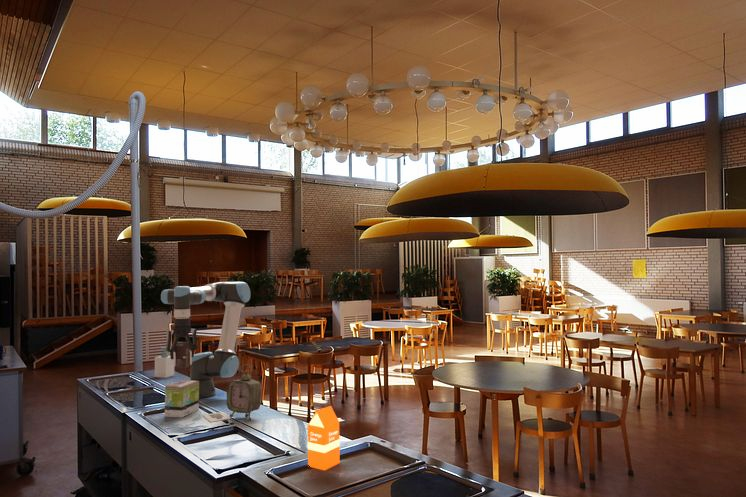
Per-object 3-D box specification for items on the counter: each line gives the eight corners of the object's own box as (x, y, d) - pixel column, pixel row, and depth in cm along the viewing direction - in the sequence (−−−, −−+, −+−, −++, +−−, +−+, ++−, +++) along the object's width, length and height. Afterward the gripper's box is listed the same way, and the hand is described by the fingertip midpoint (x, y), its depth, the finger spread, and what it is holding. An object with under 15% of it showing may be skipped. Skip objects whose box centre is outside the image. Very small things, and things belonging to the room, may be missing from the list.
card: (223, 412, 268) (223, 411, 268) (231, 418, 257) (231, 417, 257) (202, 415, 263) (202, 414, 263) (210, 422, 252) (210, 421, 252)
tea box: (183, 418, 259) (183, 386, 260) (164, 417, 261) (164, 385, 262) (199, 409, 274) (199, 379, 275) (181, 408, 276) (181, 379, 277)
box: (174, 367, 266) (174, 342, 267) (178, 366, 271) (178, 341, 271) (185, 368, 266) (185, 342, 266) (190, 366, 270) (190, 341, 270)
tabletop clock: (225, 417, 257) (228, 363, 258) (238, 413, 265) (240, 361, 266) (250, 422, 250) (252, 367, 252) (262, 418, 258) (265, 364, 260)
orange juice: (307, 466, 196) (307, 409, 196) (323, 458, 203) (322, 404, 203) (324, 470, 191) (324, 412, 192) (340, 462, 199) (339, 407, 199)
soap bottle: (163, 374, 364) (163, 345, 365) (174, 375, 361) (174, 346, 362) (154, 377, 356) (154, 347, 357) (165, 377, 353) (165, 348, 354)
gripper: (162, 319, 261) (162, 368, 260) (204, 317, 271) (204, 364, 270) (159, 318, 267) (159, 366, 266) (200, 316, 277) (200, 361, 277)
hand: (182, 364), depth 268 cm, fingers closed on box, 7 cm apart
